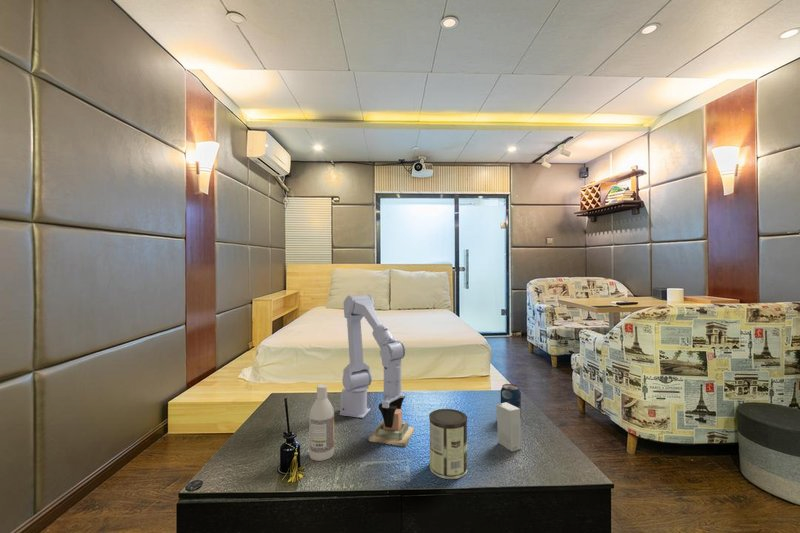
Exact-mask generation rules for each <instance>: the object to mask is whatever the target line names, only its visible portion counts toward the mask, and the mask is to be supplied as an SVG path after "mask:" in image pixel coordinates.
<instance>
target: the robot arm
mask: <svg viewBox="0 0 800 533" xmlns="http://www.w3.org/2000/svg"><path fill="white" fill-rule="evenodd" d="M343 315H344V318H345V319H346V322H347V323H346V326H347V342H348V353H349V354H348V358H349V362H348V364H347V365H346V366H345V367H344V369H343V370H342V371H343V372H342V373H343V375H342V387H343V389H342V390H341V392H340V398H339V399H340V403H339V404H340V405H339V406H340V410H339V411H340V412H339V416H343V417H345V416H346V417H351V418H352V417H353V418H360V419H363V418H364V417H365V416H366V415H367V414H368V413H369V412H370V411H371V410H372V409H371V408H370V407H368V405H367V403H368V389H369V387H370V386H371V384H372V380H373V376H372V374H371V369H370V366H369V365H368V364H367V363H365V361H364V352H363V351H364V350H363V336H362V324H361V323H362V319H363V318H364V319H365V321H366V322H368V324H369V325H370V327H371V328H372V332H371V333H372V337H373V338H374V340H375V341H376V344H377V345H378V347H379V348H380V350H379V355H380V358H381V365H382V367H383V393H382V401H381V402H380V403H379V404H378V410H379V411H380V413H381V416H382V419H383V420H384V424H385V427H388V428H392V426H393V419H394V414H395V410H396V409H402V405H403V402H404V399H405V398H406V393H403V392H402V388H403V387H402V359H403V358H405V355H406V348H405V345H404V343H403V342H402V341H401V340H398V339H396V338H395V337H394V335H393V334H392V332H391V330H390V329H389V327H388V326H387V325H386V324H383V323H382V321H381V319H380V318H379V315H378V313H377V311H376V309H375V300H374V298H373V297H372V295H371V294H365V295H363V294H362V295H347V296H346V297H345V299H344V300H343Z"/></svg>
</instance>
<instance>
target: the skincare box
mask: <svg viewBox="0 0 800 533" xmlns="http://www.w3.org/2000/svg"><path fill="white" fill-rule="evenodd" d="M496 422H497V423H496V424H497V427H496V428H497V443H498V445H501V446H503V447H504V448H505V449H506V450H509V451H510V452H516V451H518V450H521V449H522V429H521V427H522V424H521V419H520V409H519V408H517V407H515V406H513V405H511V404H509V403H507V402H505V403H501V402H500V403H498V404H496Z"/></svg>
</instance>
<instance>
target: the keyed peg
mask: <svg viewBox="0 0 800 533" xmlns="http://www.w3.org/2000/svg"><path fill="white" fill-rule="evenodd" d="M402 422H403V409H402V408H401V409H396V410H395V414H394V419H393V426H392V428H388V427H385V424H384V429H385V430H392V431H399V432H400V430H401V429H402Z"/></svg>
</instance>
